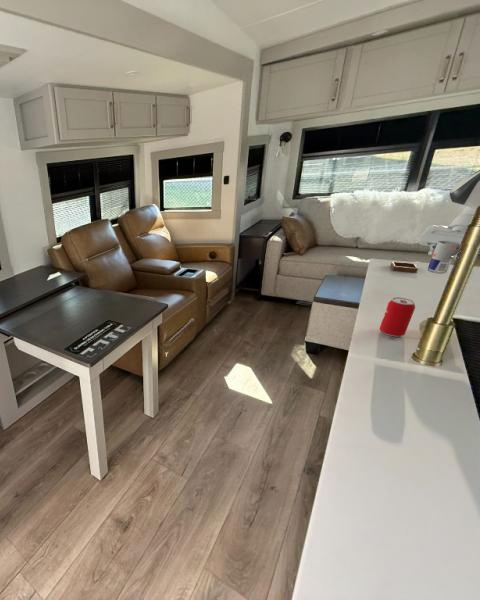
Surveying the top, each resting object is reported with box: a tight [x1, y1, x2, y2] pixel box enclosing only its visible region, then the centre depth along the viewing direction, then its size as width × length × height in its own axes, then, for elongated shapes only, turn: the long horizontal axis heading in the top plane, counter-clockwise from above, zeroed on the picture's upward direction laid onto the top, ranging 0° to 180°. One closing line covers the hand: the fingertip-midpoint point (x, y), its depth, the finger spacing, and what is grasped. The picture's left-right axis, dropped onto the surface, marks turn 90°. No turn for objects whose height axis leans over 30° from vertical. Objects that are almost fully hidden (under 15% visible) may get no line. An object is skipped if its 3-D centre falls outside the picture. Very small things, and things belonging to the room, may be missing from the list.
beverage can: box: [379, 296, 416, 338], centre depth 103 cm, size 6×6×12 cm
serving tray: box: [390, 261, 419, 274], centre depth 152 cm, size 8×8×2 cm
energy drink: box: [426, 241, 458, 275], centre depth 124 cm, size 5×5×12 cm
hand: (441, 256), depth 124 cm, fingers closed on energy drink, 5 cm apart
